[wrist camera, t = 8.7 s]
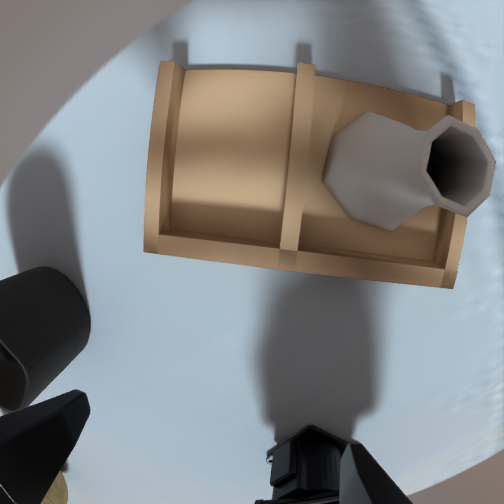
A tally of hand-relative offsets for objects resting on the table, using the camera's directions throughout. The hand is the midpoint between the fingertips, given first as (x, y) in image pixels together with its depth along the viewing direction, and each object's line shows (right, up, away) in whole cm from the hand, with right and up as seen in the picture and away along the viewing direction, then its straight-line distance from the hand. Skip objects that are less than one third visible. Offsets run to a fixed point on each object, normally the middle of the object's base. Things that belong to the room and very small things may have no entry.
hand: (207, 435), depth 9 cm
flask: (+9, +11, +9) cm, 17 cm away
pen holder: (-16, 0, +16) cm, 23 cm away
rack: (+5, +11, +10) cm, 16 cm away
